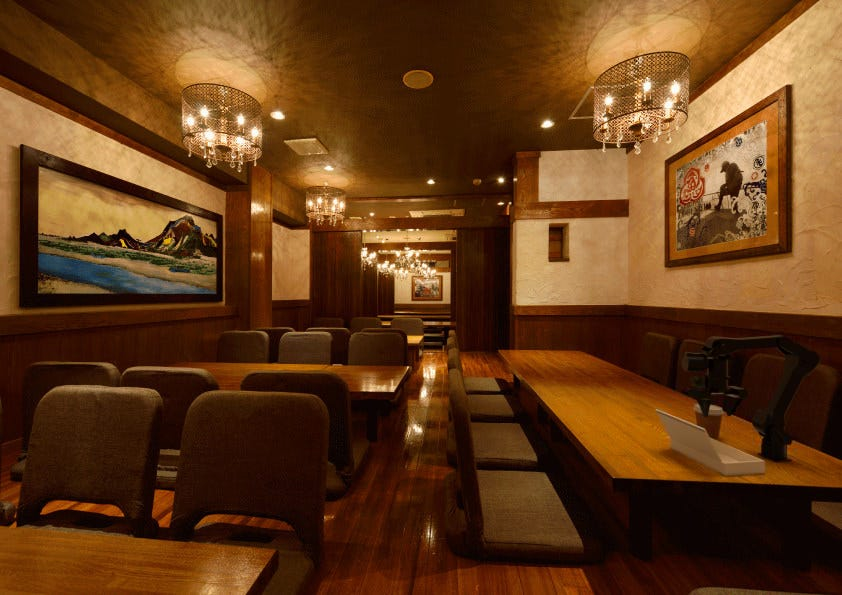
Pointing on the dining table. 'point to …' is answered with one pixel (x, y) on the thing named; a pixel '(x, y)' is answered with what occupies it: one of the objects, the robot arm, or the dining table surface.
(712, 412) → the disposable coffee cup
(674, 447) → the carton
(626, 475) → the dining table surface
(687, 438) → the flap
